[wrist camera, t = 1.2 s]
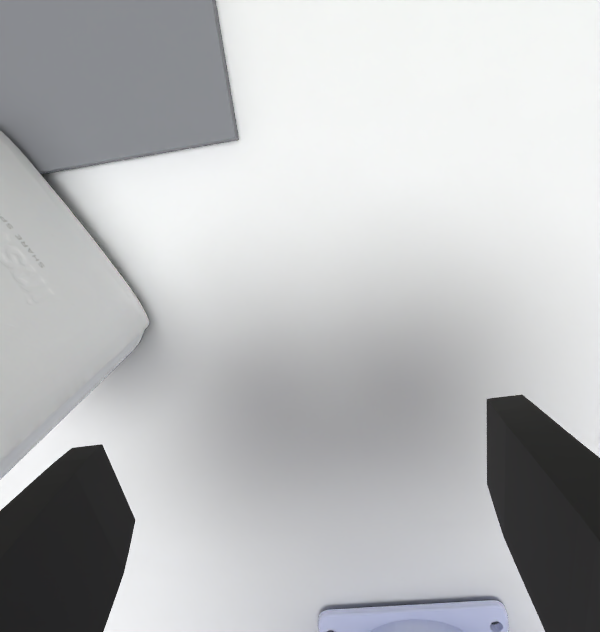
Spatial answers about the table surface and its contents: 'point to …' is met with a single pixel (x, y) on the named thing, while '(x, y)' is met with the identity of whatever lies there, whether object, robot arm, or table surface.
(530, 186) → the table surface
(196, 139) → the mat
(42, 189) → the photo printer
